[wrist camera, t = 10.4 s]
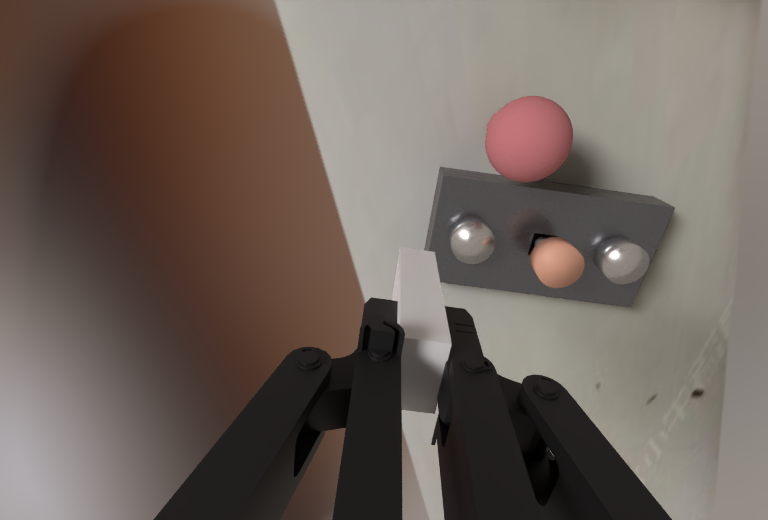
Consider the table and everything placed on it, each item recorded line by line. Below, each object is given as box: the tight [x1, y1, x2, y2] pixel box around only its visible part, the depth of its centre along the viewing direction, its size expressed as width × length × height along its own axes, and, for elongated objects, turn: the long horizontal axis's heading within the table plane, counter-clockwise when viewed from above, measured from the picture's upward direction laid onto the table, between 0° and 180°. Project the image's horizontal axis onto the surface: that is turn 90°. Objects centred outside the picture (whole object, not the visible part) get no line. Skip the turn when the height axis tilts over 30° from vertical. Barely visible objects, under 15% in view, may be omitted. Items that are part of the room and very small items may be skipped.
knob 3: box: [594, 236, 650, 284], centre depth 45 cm, size 4×4×6 cm
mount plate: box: [424, 167, 675, 307], centre depth 46 cm, size 12×24×4 cm, turn 82°
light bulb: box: [485, 96, 573, 182], centre depth 38 cm, size 7×7×12 cm
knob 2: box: [530, 237, 585, 288], centre depth 42 cm, size 4×4×6 cm
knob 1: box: [449, 216, 495, 264], centre depth 45 cm, size 4×4×6 cm
